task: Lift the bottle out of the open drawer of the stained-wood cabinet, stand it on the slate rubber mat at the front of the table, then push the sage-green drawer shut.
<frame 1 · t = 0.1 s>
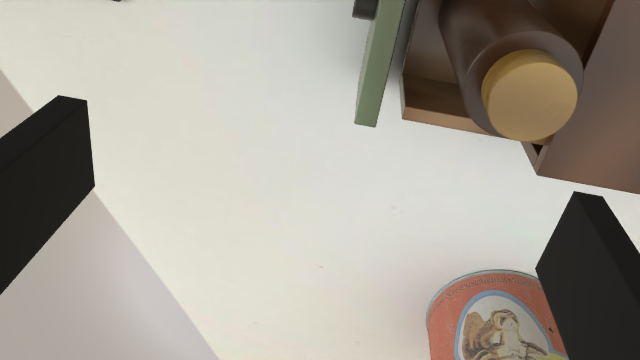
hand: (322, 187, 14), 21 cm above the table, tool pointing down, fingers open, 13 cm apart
canned food: (491, 317, 45), on the table
bottle: (479, 16, 30), point 2 cm above the table, touching drawer
drawer: (487, 26, 28), point 4 cm above the table, slide at 9.0 cm, touching bottle
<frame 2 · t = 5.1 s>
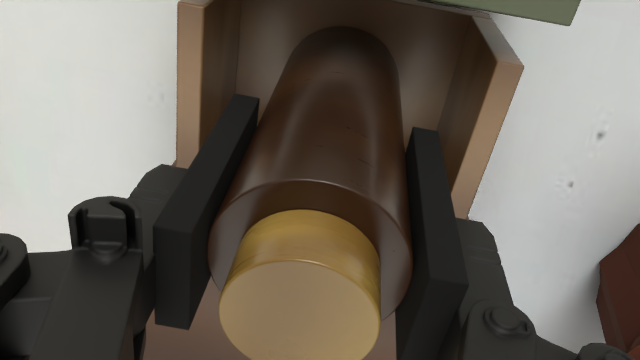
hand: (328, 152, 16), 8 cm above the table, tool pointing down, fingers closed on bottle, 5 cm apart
cabinet: (306, 265, 29), on the table
bottle: (340, 83, 21), point 2 cm above the table, touching drawer, gripper
drawer: (336, 108, 19), point 4 cm above the table, slide at 9.0 cm, touching bottle
when the fingers open (6 cm above the table, at t = 12.6 s): bottle stays where it is, resting on mat.
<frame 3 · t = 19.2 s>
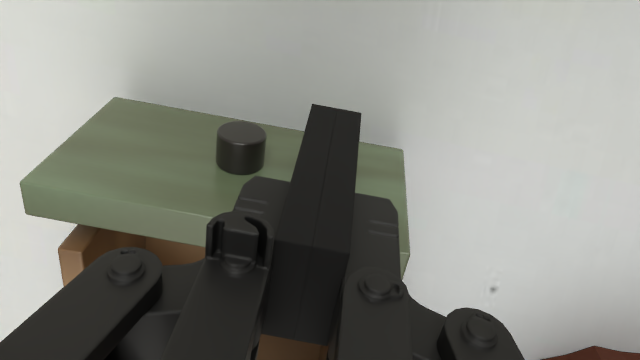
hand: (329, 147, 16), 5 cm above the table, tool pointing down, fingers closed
drawer: (229, 293, 21), point 4 cm above the table, slide at 9.0 cm, touching gripper
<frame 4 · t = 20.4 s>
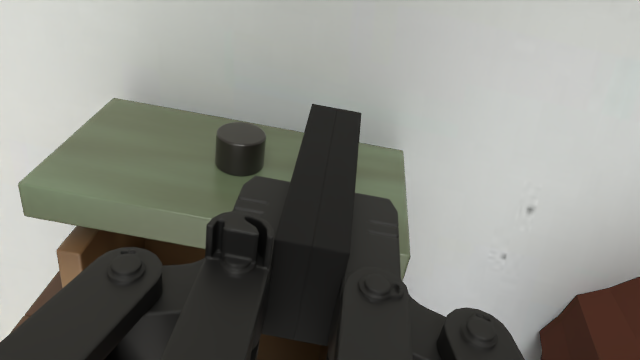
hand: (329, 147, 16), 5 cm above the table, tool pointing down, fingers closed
cabinet: (241, 329, 28), on the table
drawer: (228, 295, 21), point 4 cm above the table, slide at 4.2 cm, touching gripper
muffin: (628, 342, 26), on the table
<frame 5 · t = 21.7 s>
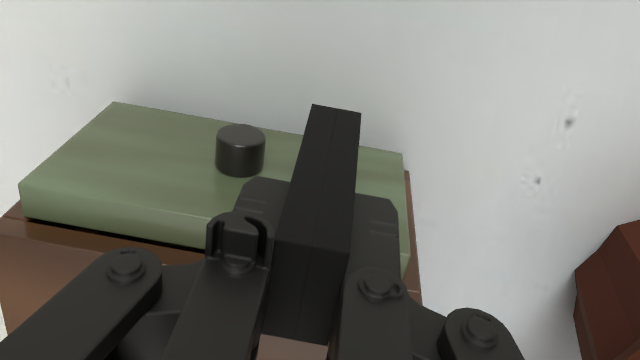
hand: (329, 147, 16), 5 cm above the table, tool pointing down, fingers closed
cabinet: (246, 275, 25), on the table
drawer: (228, 299, 21), point 4 cm above the table, slide at 0.0 cm, touching cabinet, gripper
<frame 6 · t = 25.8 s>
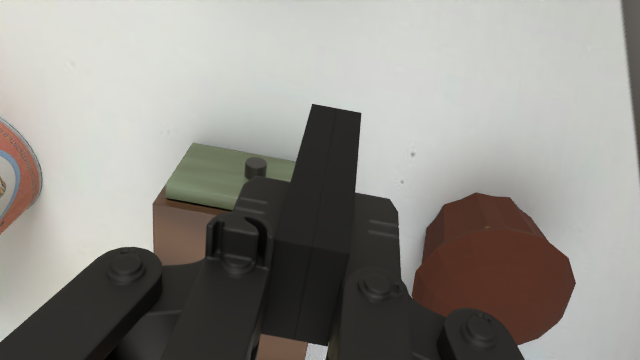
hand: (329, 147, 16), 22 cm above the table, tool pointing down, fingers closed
cabinet: (256, 231, 47), on the table
drawer: (248, 239, 42), point 4 cm above the table, slide at 0.0 cm, touching cabinet
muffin: (477, 234, 45), on the table
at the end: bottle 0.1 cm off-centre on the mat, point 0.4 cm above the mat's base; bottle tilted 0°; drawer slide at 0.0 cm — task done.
